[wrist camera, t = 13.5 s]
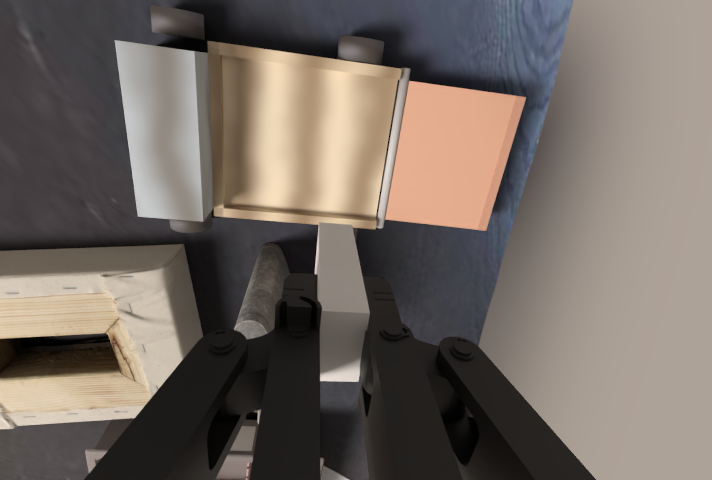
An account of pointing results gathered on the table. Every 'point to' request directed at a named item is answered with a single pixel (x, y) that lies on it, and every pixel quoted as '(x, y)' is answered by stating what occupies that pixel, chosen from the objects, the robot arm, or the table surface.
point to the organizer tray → (233, 469)
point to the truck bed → (255, 129)
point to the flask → (263, 294)
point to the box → (92, 330)
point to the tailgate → (446, 154)
